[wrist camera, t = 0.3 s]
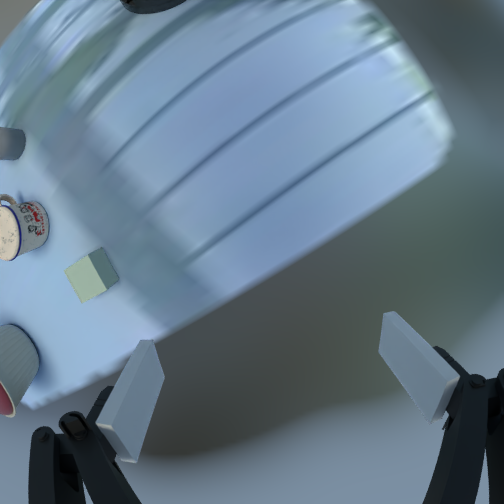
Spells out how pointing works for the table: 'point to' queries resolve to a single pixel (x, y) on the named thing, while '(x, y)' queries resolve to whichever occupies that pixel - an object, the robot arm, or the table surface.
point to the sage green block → (91, 275)
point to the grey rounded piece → (11, 143)
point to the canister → (15, 367)
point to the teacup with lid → (21, 227)
